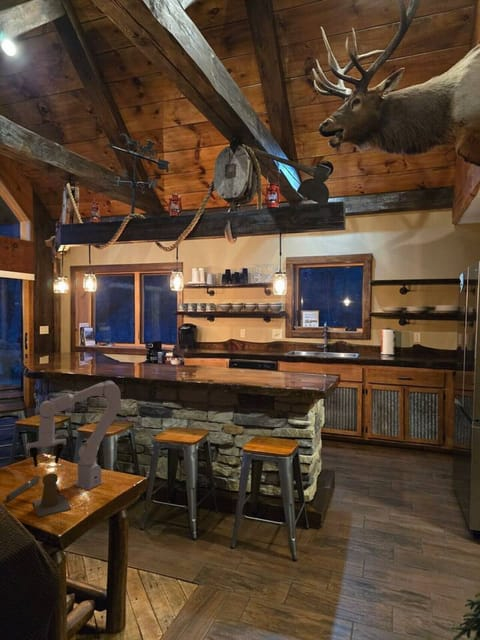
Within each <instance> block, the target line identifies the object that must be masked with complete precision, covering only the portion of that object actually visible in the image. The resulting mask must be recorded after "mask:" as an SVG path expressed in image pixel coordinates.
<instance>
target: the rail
mask: <svg viewBox="0 0 480 640" xmlns="http://www.w3.org/2000/svg"><path fill="white" fill-rule="evenodd" d="M56 487H57V495H58V496H60V488H59V487H58V484H57V483H56Z"/></svg>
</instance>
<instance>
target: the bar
mask: <svg viewBox="0 0 480 640" xmlns="http://www.w3.org/2000/svg"><path fill="white" fill-rule="evenodd" d="M39 482H40V475H36V476H35V477H33V478H32V479H30V480H26V481H24V484H22V485H21V486H19V487H17V488H15V489H14V490H13V491H11V492H10V493H8V494H6V496H5V501H6V502H11V500H13V499H14V498H16V497H18V496H19V495H20V494H23V492H25V491H27V490H28V489H30V488H31V487H32V486H34V485H35V484H37V483H39Z"/></svg>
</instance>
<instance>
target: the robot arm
mask: <svg viewBox="0 0 480 640" xmlns="http://www.w3.org/2000/svg"><path fill="white" fill-rule="evenodd" d="M121 394H122V393H121V390H120V388H119V386H118V385H117V384H116V383H115V382H114V381H113V380H105V381H104V382H99V383H97V384H93V385H92V386H90V387H86V388H84V389H82V390H80V391H78V392H76V393H69V392H68V393H66V392H64V393H62V394H61V396H58V397H54V398H52V397H51V398H50V399H49V400H45V401H43V402H41V403H40V405H39V407H38V409H39V421H38V441H33V442H30V443H26V444H25V446H26V447H25V449H26V451H29V453H30V454H31V456H32V460H33V464H34V468H37V467H38V449H41V448H46V447H47V448H48V447H55V448H54V449H55V453H54V454H55V457H54V463H55V464H56V465H57V464H59V458H60V455H61V453H62V451H63V449H64V447H65V446H66V445H67V439H66V438H61V439H60V438H56V439H55V429H56V428H55V427H56V425H55V423H56V422H55V420H56V419H55V414H56V413H60V412H61V411H64V410H67V409H69V408H71V407H73V406H74V405H75V403H76V402H79V401H82V400H84V399H87V398H90V397H93V396H98V397H103V395H104V397H105V398H106V401H107V407H106V408H105V410H104V412H103V413H102V415H101V417H100V418H99V421H98V422H97V424H96V426H95V428H94V429H93V431H92V433H91V434H90V437H89V438H87V440H86V441H85V443H83V444H82V445H81V446H80V447H79V449H78V451H77V453H78V457H79V460H78V461H77V481H76V482H73V483H72V486H75V487H78V488H81V489H85V490H91V489H93V488H96V487H97V486H99V485H101V484H103V481H102V468H101V465H99V464H97V454H98V452H99V448H100V445H101V442H103V439H104V437H105V436H106V433H107V432H108V430H109V429H110V427H111V425H112V423H113V422H114V419H115V417H116V416H117V414H118V412H119V410H120V409H121V406H122V402H121V401H122V400H121V399H122V398H121V397H122V396H121Z"/></svg>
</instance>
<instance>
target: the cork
mask: <svg viewBox="0 0 480 640" xmlns="http://www.w3.org/2000/svg"><path fill="white" fill-rule="evenodd" d="M58 480H59V479H58V475H57V474H56V473H52V472H51V473H47V474H45V475H43V477H42V484H43V488H42V496H41V499H42V500H41V499H40V500H41V507H45V508H48V507H53V506H55V505H57V504H58V495H57V487H56V484H57V482H58Z"/></svg>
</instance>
